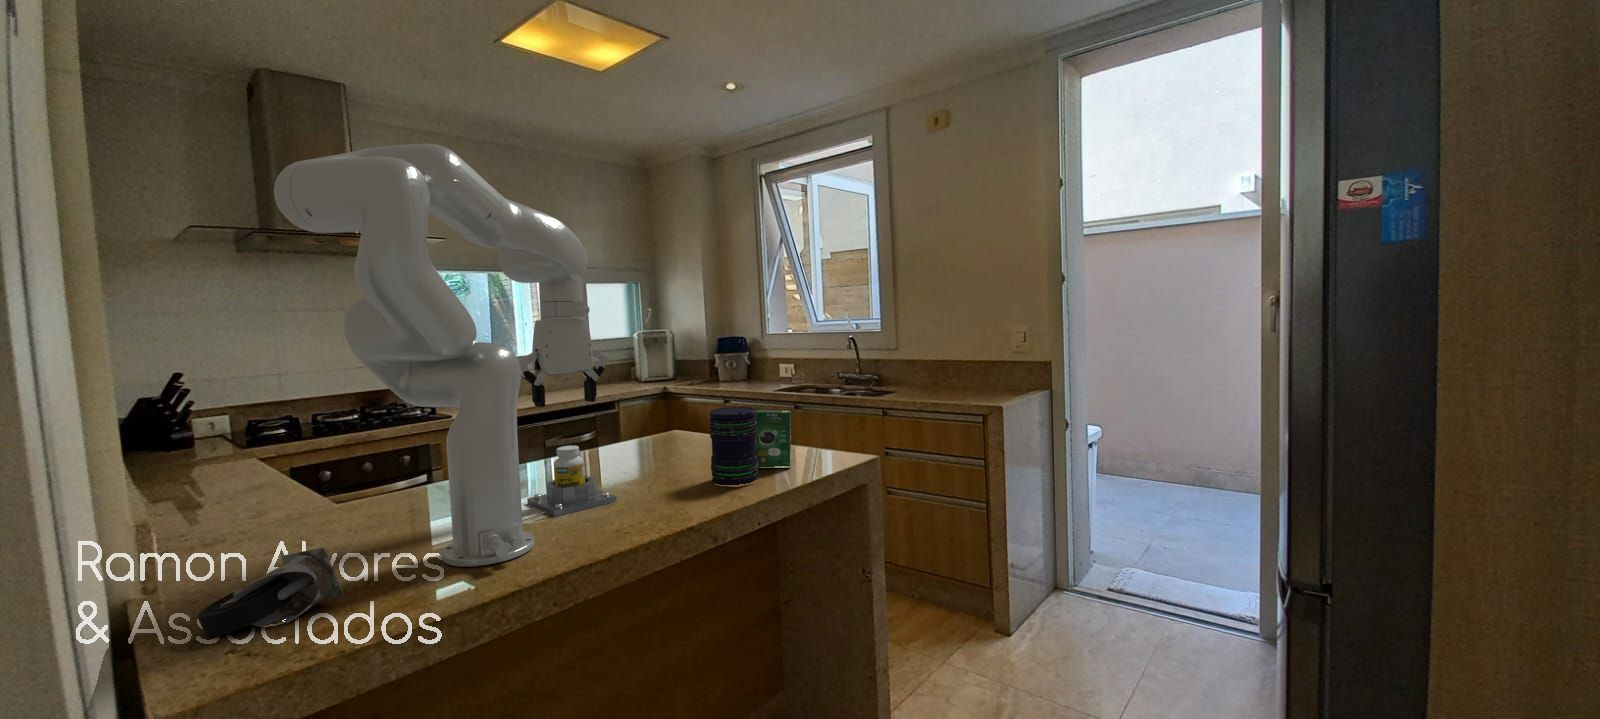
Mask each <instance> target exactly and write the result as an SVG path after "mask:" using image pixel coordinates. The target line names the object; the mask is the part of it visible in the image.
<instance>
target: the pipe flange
mask: <svg viewBox="0 0 1600 719" xmlns="http://www.w3.org/2000/svg"><path fill="white" fill-rule="evenodd" d="M545 488H546V493H544V494H540V493H538V494H536V493H535V494H534V495H533V496H532V497H528V498H526V499H527V504H528V505H530V506H532V507H533V508H536V509H538V510H539V511H542V512H544V513H547V514H549V515H550V516H552V517H555V518H556V517H560V516H563V515H568V514H571V513H575V512H579V511H583V510H588V509H592V508H595V507H599V506H603V505H608V504H611V503H616V502H618V501H617V495H614V494H611V493H610V492H609V491H608V492H606V491H603V490H601V489H599V488H596V478H595V477H593V476H589V475H588V476H587V475H585V483H584V484H580V485H575V486H566V487H563V486H555V479H553V480H550V481H548V482H547V483H546V486H545Z"/></svg>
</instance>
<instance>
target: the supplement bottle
mask: <svg viewBox="0 0 1600 719" xmlns="http://www.w3.org/2000/svg"><path fill="white" fill-rule="evenodd" d="M556 456H557V457H558V458H556V459H555V460H554V461H553V471H554V473H553V474H554V480H555V486H563V487H566V486H575V485H580V484H584V483H585V476H586V475H585V473H586V472H585V462H584V459H583V457H581V456H580V447H579V446H578V445H565V446H560V447H557V448H556Z"/></svg>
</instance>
